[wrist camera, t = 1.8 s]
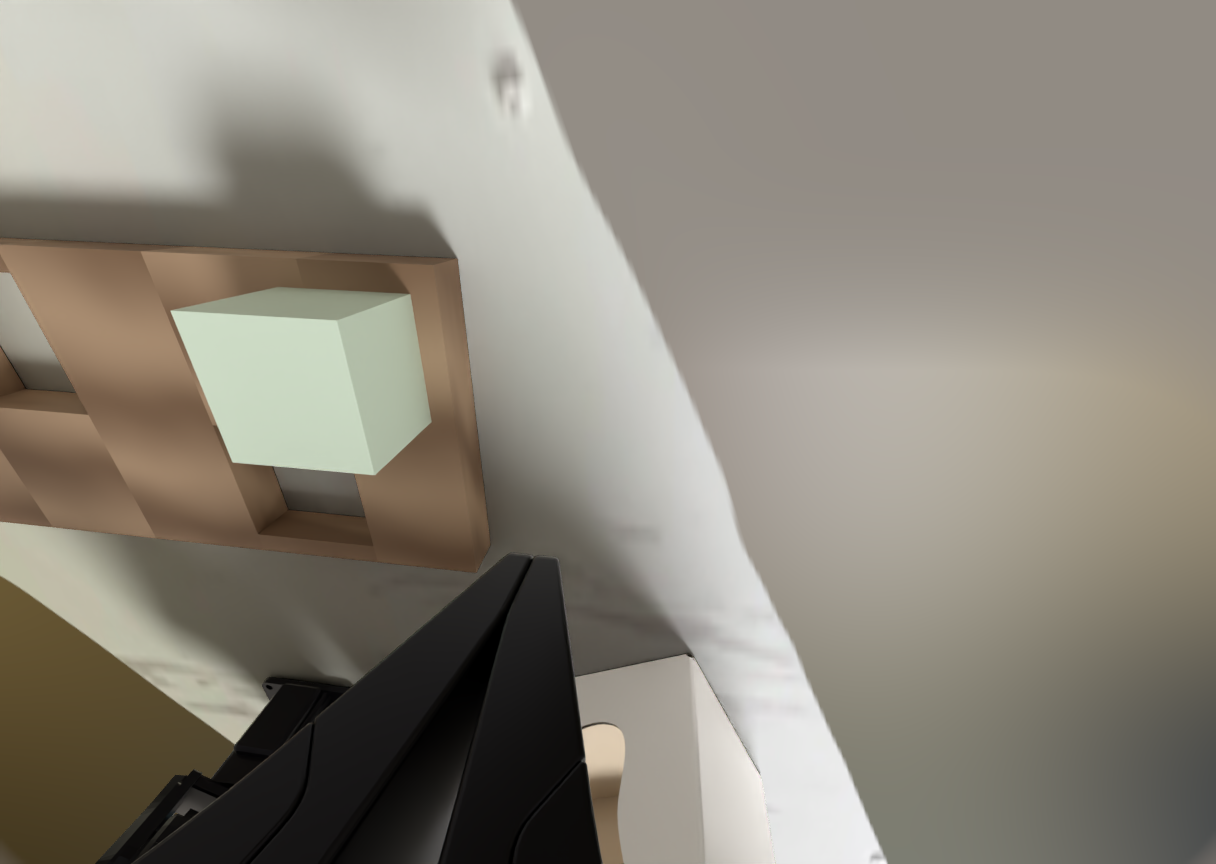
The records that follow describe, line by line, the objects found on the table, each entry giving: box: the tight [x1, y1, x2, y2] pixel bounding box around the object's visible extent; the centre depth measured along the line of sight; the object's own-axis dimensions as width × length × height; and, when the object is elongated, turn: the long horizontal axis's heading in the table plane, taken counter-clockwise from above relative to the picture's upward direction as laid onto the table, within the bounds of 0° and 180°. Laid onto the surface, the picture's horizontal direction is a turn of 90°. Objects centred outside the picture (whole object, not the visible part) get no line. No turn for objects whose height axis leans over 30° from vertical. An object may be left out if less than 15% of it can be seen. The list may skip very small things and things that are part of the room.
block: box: [171, 287, 432, 475], centre depth 15 cm, size 5×5×4 cm
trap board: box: [0, 238, 491, 573], centre depth 20 cm, size 14×32×3 cm, turn 88°
